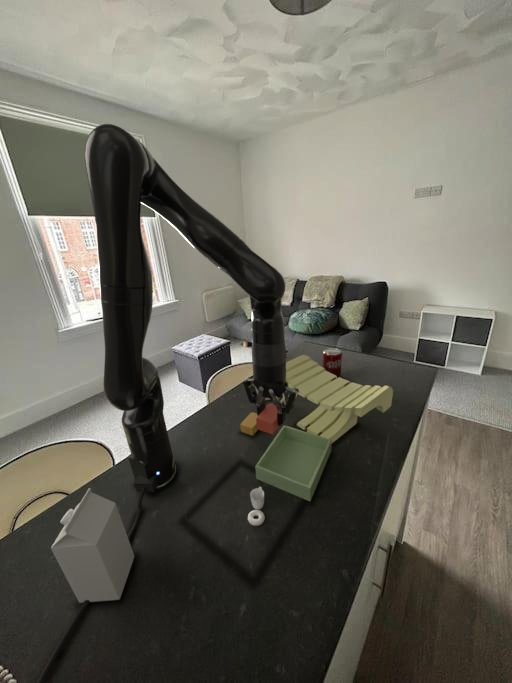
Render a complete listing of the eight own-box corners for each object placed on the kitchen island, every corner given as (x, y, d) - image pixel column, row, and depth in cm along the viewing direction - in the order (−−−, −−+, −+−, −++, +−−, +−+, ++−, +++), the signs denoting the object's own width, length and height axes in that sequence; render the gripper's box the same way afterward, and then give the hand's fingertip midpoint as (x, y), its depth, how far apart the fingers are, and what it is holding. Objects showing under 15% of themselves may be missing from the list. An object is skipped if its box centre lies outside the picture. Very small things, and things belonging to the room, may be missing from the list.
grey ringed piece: (260, 534, 58) (259, 521, 56) (231, 514, 62) (230, 501, 61) (282, 502, 64) (282, 490, 63) (255, 486, 69) (254, 474, 67)
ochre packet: (253, 437, 85) (252, 428, 83) (240, 432, 87) (240, 424, 86) (263, 423, 90) (263, 415, 89) (252, 419, 92) (251, 411, 91)
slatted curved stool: (387, 435, 82) (394, 382, 75) (356, 464, 72) (362, 407, 66) (308, 395, 103) (308, 352, 97) (277, 414, 94) (275, 367, 88)
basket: (310, 503, 63) (310, 488, 62) (256, 479, 70) (255, 466, 68) (331, 452, 77) (331, 439, 75) (284, 437, 84) (283, 425, 82)
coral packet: (273, 434, 65) (272, 423, 63) (256, 429, 67) (256, 418, 65) (285, 417, 70) (285, 407, 69) (270, 413, 72) (269, 402, 71)
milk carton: (135, 556, 55) (110, 486, 48) (119, 600, 48) (88, 527, 41) (99, 559, 55) (69, 489, 48) (79, 604, 48) (40, 530, 41)
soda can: (319, 375, 117) (319, 349, 112) (334, 372, 119) (335, 346, 114) (328, 383, 110) (329, 356, 106) (344, 380, 112) (345, 353, 108)
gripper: (233, 359, 62) (238, 421, 69) (291, 371, 55) (292, 439, 62) (250, 346, 68) (254, 405, 75) (305, 356, 61) (304, 420, 68)
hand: (271, 420), depth 68 cm, fingers closed on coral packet, 4 cm apart
